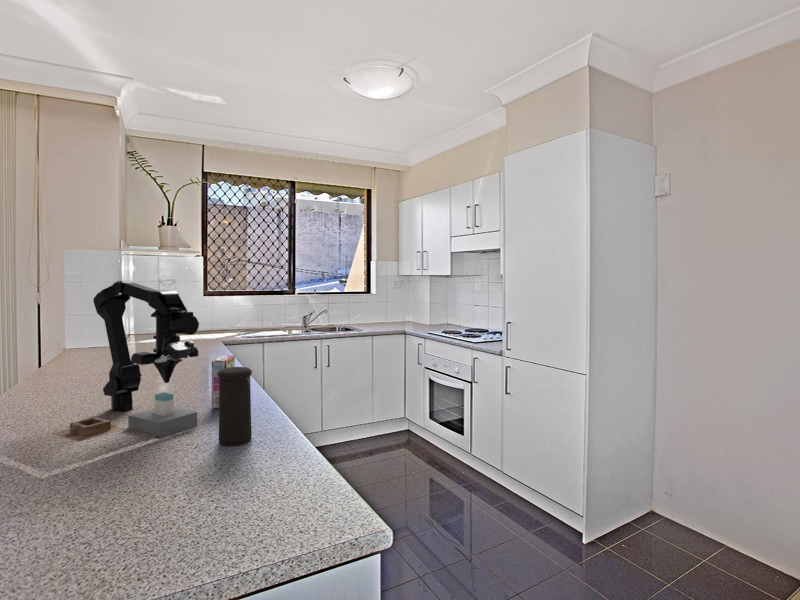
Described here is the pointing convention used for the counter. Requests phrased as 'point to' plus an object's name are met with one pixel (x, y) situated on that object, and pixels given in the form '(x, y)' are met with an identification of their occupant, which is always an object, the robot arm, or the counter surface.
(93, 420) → the holster
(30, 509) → the counter surface
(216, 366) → the candy bar box
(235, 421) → the container
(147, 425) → the socket block
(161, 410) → the plug
